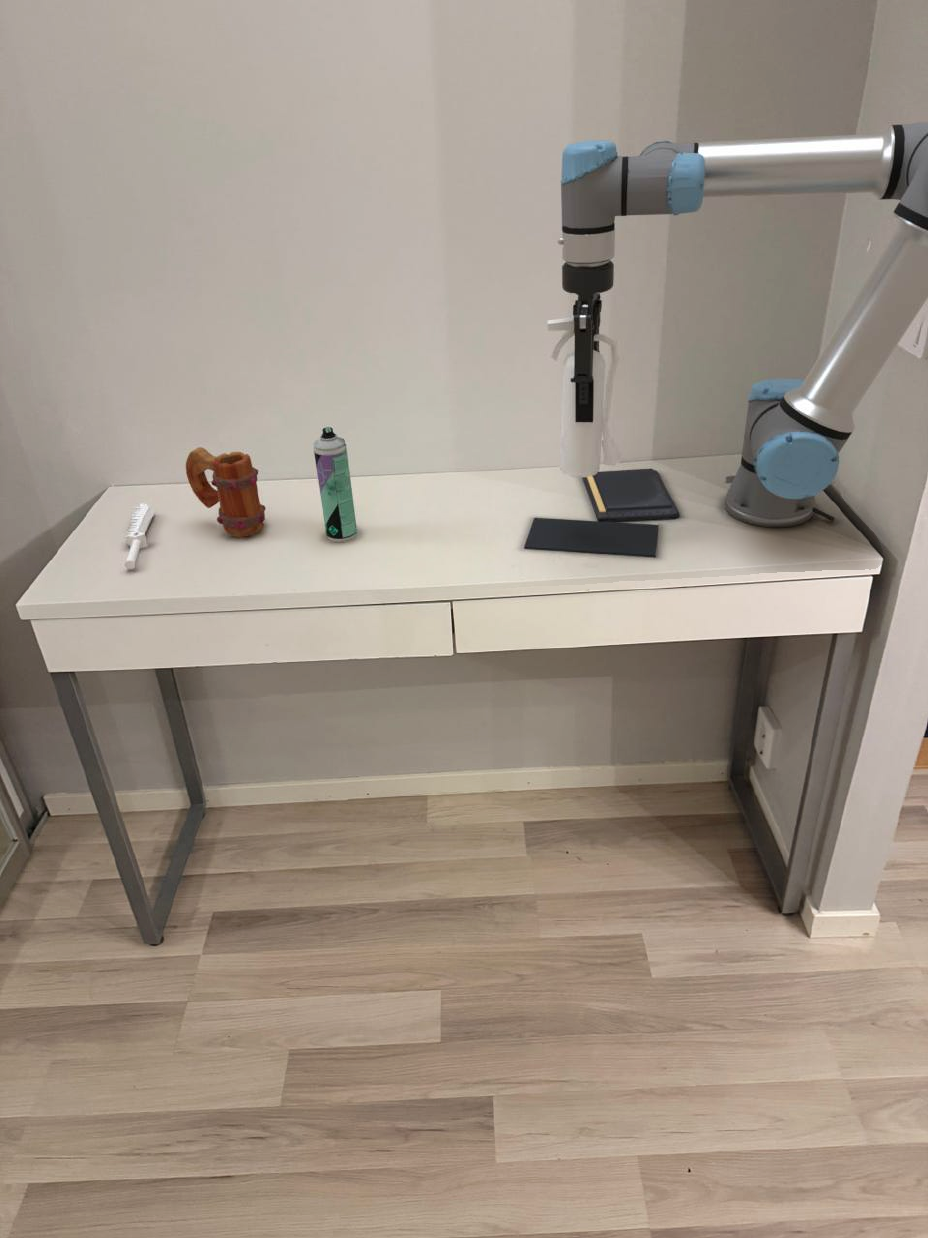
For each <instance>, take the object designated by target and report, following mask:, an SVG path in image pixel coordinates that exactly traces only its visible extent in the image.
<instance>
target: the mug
mask: <svg viewBox="0 0 928 1238" xmlns="http://www.w3.org/2000/svg"><path fill="white" fill-rule="evenodd" d="M207 470H210V471H213V472H212V476H211V477H212V480H211V481H210V482H209V480H208V478H207V475H206V471H207ZM185 473H186V477H187V480H188V483H189V486H190V488H191V490H192V492H193V494H194V495H195V496H196V497H197V499H198V501H200V502H201V504H203V505H204V506H205V508H207V509H210V508H212V507H214V506H215V505H217V504H218V503H219V508H218V516H217V517H216V522H217V523H218V524H221V525H222V528H223V530H224V531H225V533H227V534H228V535H230V536H233V537H239V538H240V537H243V538H244V537H248V536H251V535H254V534H255V533H257V532H259V531H260V530H261V529H263V528H264V525H265V524H264V522H265V520H266V513H265V511H266V506H265V505H264V504H261V502H260V498H259V497H260V496H259V489H258V484H257V483H258V475H259V470H258V468H255V467H254V466H253V463H252V459H251V456H250V455H249V454H248V453H244V452H242V451H231V452H230V453H225V452H224V453H222V454H219V455H217V456H215V455H213V454H212V453H210V452H209V451H208V450H207V449H206V448H205V447H201V446H199V447H196V448H195V449H193V450H191V451H190V452H189V454H188V456H187V457H186V461H185ZM210 483H211V484H210ZM213 486H214V487H215V488H214V487H213Z"/></svg>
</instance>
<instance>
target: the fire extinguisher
mask: <svg viewBox="0 0 928 1238" xmlns="http://www.w3.org/2000/svg"><path fill="white" fill-rule="evenodd" d="M593 328H594V327H593ZM547 331H548V332H552V331H553V332H555V331H556V332H557V331H559V332H561V331H565V332H564V333H563V334H562V335H561V336H560V337H559V339H558V340H557V341H556V342H555V343H554V346H553V349H552V352H551V359H553V360H554V361H557V360H558V358H559V355H560V352H561V349H562V348H563V347H564V346H565V345H566V344H567V342H568V341H569V340H570V339H572V338H573V337H575V334H574V316H570V317H564V318H563V317H562V318H554V319H548V320H547ZM594 341H599V342H603V343H605V344H606V345H609V346H610V351H611V363H610V367H609V369H608V374H607V376H606V361H605V358H604V356H603V355H602V354H601V352H600V353H599V352H597V351H595V350H593V374H592V376H593V380H594V401H593V422H575V382H571V378H574V354H575V350H572V351H570V352H569V353H568V354H566V356H565V358H564V360H563V362H562V385H561V386H562V387H561V389H562V390H561V416H560V417H561V423H560V452H559V453H560V455H559V470H560V471H561V473H562V474H563V475H566V476H569V477H572V478H582V477H588V476H592V475H596V474H597V472H600V469H601V455H603V463H604V465H607V466H612V467H613V466H616V465H618V463H620V462H622V461H624V458H623V456H622V454H621V451H620V449H619V448H618V445H617V443H616V441H615V439H614V438H611V436H610V432H609V427H608V425H609V424H608V423H609V415H610V407H611V400H612V392H613V384H614V378H615V374H616V370H617V366H618V363H619V359H620V358H619V350H618V342H617V341H616V340H614V339H612V338H611V337H609V336H607V335H605V334H601V333H599V334H596V335H595V336H594ZM605 382H606V383H605ZM605 384H606V385H605ZM602 436H603V439H602ZM601 452H602V453H601Z"/></svg>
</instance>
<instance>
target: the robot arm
mask: <svg viewBox="0 0 928 1238" xmlns="http://www.w3.org/2000/svg"><path fill="white" fill-rule="evenodd" d="M861 193H862V194H863V193H865V194H866V193H869V194H870V195H871V196H872V197H873V198H874V199H875V200H877V201H879V200H896V201H898V203H897V205H896V206H895V209H894V210H893V212H892V213H891V214H892V221H893V227H894V230H893V231H894V232H893V234H892V235H891V237H890V239H889V240H888V242H887V243H886V245H885V247H884V249H883V250H882V252H881V253H880V255H879V256H878V258H877V260H876V261H875V263H874V265H873V267H872V268H871V270H870V272H869V273H868V275H867V277H866V278H865V280H864V281H863V283H862V285H861V287H860V288H859V290H858V291H857V293H856V295H855V296H854V298H853V300H852V302H851V303H850V305H849V306H848V308H847V310H846V311H845V313H844V315H843V316H842V318H841V320H840V321H839V323H838V324H837V326H836V328H835V330H834V331H833V333H832V335H831V336H830V338H829V339H828V341H827V343H826V345H825V346H824V348H823V349H822V351H821V353H820V354H819V356H818V357H817V359H816V361H815V362H814V364H813V366H812V367H811V369H810V370H809V373H808V374H807V375H806V377H805V379H804V380H803V379H794V378H775V379H774V378H773V379H765V380H761V381H757V382H755V383H754V384H753V385H752V386H751V388H750V391H749V397H748V398H747V403H748V404H747V405H748V406H747V412H746V419H745V427H744V435H743V441H742V451H741V459H740V464H739V467H738V469H737V472H736V473H735V475H729V476H726V477H725V482H724V484H725V485H726V484H730V485H729V487H728V489H727V491H726V494H725V500H724V508H725V510H726V512H727V513H728V514H729V515H730V516H732V517H733V518H735V519H737V520H738V521H741V522H743V523H746V524H749V525H754V526H759V527H765V528H786V527H788V528H789V527H795V526H798V525H802V524H804V523H806V522H808V521H809V520H811V518H813V516H814V514H817V515H819V516H821V517H823V518H825V519H827V520H829V521H830V522H834V521H835V519H836V517H835V516H833V515H831V514H828V513H826V512H825V511H823V510H820V509H818V508H816V497H815V495H817V494H820V493H821V492H823V491H824V490H825V489H827V488H828V487H829V486H830V485H831V484H832V482H834V480H835V478H836V476H837V474H838V472H839V466H840V455H839V454H840V452H841V451H842V449H843V447H844V446H845V445H846V443H847V442H848V440H849V438H850V436H851V435H852V433H853V432H854V431H855V429H856V425H855V422H854V417H853V413H854V412H855V410H856V409H857V408H858V406H859V404H860V402H861V401H862V400H863V398H864V397H865V394H866V393H867V392H868V390H869V389H870V387H871V386H872V384H873V383H874V381H875V380H876V378H877V377H878V375H879V373H880V372H881V371H882V369H883V368H884V366H885V364H886V363H887V361H888V360H889V358H890V356H891V355H892V354H893V352H894V350H895V349H896V348H897V346H898V344H899V343H900V341H901V340H902V338H903V337H904V335H905V334H906V333H907V331H908V329H909V328H910V326H911V324H912V323H913V321H914V320H915V318H916V317H917V316H918V314H919V312H920V311H921V310H922V308H923V306H924V305H925V303H926V302H927V300H928V121H921V122H920V121H919V122H911V123H902V124H887V125H886V126H885V127H883V128H882V129H881V130H880V131H879V132H877V133H867V134H866V133H864V134H861V133H860V134H846V135H845V134H843V135H822V136H821V135H820V136H802V137H801V136H800V137H781V138H757V139H756V138H755V139H735V140H734V139H733V140H713V141H711V140H710V141H698V142H675V143H674V142H672V141H669V140H660V141H654V142H653V143H651V144H648V145H647V146H646V147H645V148H644V149H643V150H642V151H641V153H639V155H633V156H626V155H625V156H623V155H618V151H617V144H616V143H615V142H614V141H612V140H584V141H583V140H582V141H576V142H573V143H569V144H567V146H566V147H565V148H564V149H563V151H562V154H561V179H560V195H561V196H560V200H561V201H560V203H561V236H562V237H559V238H558V240H557V244H558V245H560V246H562V249H561V250H562V251H561V254H562V257H561V258H562V260H563V261H564V263H563V265H561V287H562V290H563V291H564V292H566V293H569V294H574V295H577V299H576V300H575V301H574V304H573V305H572V315H573V316H572V317H574V334H575V335H574V351H575V354H574V378H571V382H575V422H593V401H594V380H593V376H592V374H593V350H595V351H597V352H599V353H600V354H601V351H600V341H594V336H595V335H596V334H600V326H601V312H602V308H603V300H602V299H601V294H602V293H607V292H609V291H610V290H611V289H612V288H613V287H614V277H615V276H614V275H615V274H614V271H615V264H614V262H613V261H612V260H613V258H615V251H616V250H615V249H616V248H615V246H616V245H615V244H616V227H615V226H616V225H615V224H616V223H615V220H616V217H628V216H655V215H656V216H657V215H673V216H679V215H681V214H691V213H692V214H693V213H697V212H698V211H699V210H700V209H701V208H702V205H703V200H704V198H705V199H706V198H733V197H734V198H737V197H760V196H761V197H764V196H765V197H767V196H769V197H770V196H801V195H829V194H830V195H832V194H833V195H834V194H861ZM593 327H594V328H593Z"/></svg>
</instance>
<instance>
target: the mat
mask: <svg viewBox="0 0 928 1238" xmlns="http://www.w3.org/2000/svg"><path fill="white" fill-rule="evenodd" d="M659 527H660V526H659V524H653V523H652V524H649V523H636V522H635V523H634V522H633V523H632V522H619V521H607V522H600V521H598V520H582V519H581V520H580V519H565V518H564V519H563V518H561V519H560V518H548V517H546V518H545V517H534V518H533V520H532V522H531V525H530V529H529V531H528V534H527V537H526V540H525V544H524V546H523V549H525V550H539V551H540V550H541V551H554V552H555V551H556V552H568V553H569V552H571V553H586V554H600V555H602V554H603V555H614V556H615V555H617V556H629V557H631V556H632V557H644V558H645V557H647V558H656V556H657V546H658V537H659Z"/></svg>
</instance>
